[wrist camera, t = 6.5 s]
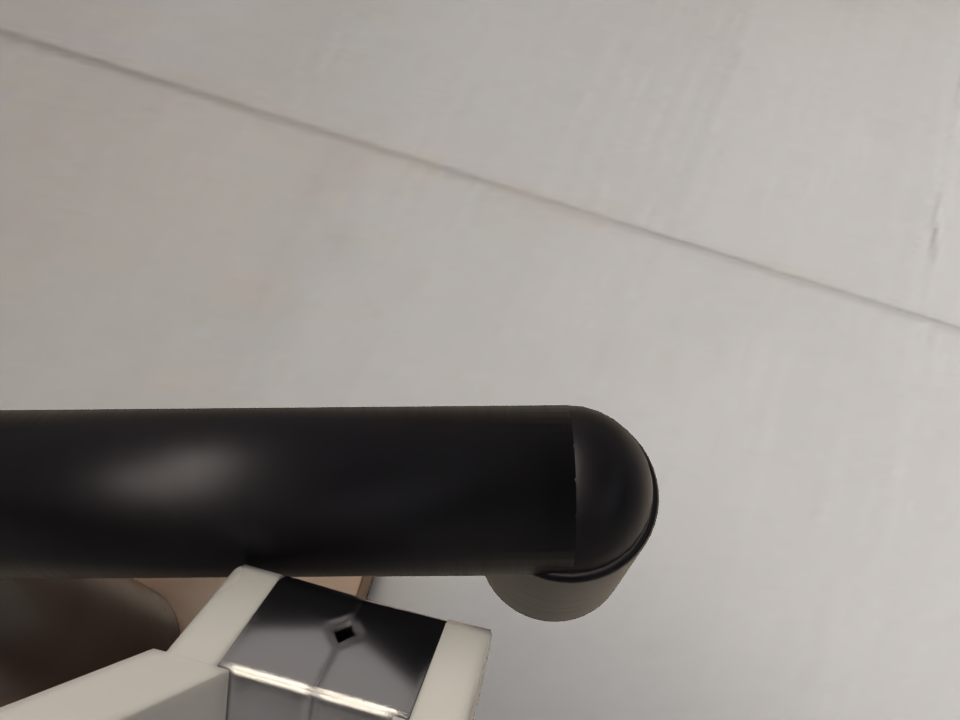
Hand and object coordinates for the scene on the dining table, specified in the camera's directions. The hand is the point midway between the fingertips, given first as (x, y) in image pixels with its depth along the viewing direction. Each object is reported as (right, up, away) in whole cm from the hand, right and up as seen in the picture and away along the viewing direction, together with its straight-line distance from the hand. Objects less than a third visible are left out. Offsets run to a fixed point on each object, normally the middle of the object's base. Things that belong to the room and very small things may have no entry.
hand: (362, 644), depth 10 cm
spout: (-4, 0, +3) cm, 5 cm away
